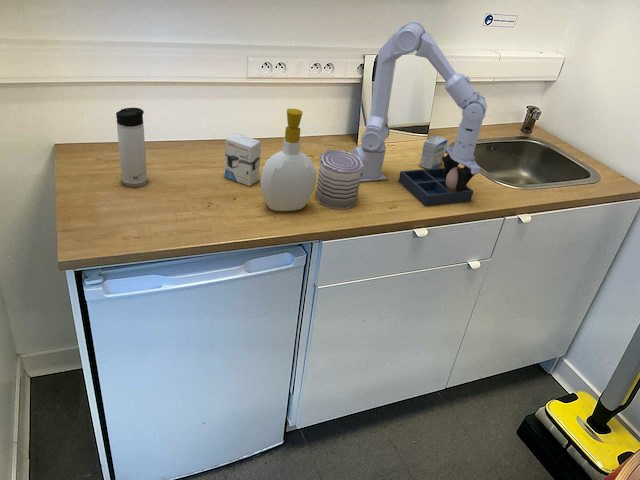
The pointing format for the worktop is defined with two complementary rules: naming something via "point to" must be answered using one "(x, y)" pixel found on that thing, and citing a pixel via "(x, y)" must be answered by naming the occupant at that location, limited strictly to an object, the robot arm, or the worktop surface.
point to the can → (338, 179)
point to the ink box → (242, 159)
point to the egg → (452, 179)
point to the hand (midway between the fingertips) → (453, 185)
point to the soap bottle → (288, 171)
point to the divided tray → (432, 187)
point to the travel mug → (132, 146)
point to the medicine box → (433, 152)
